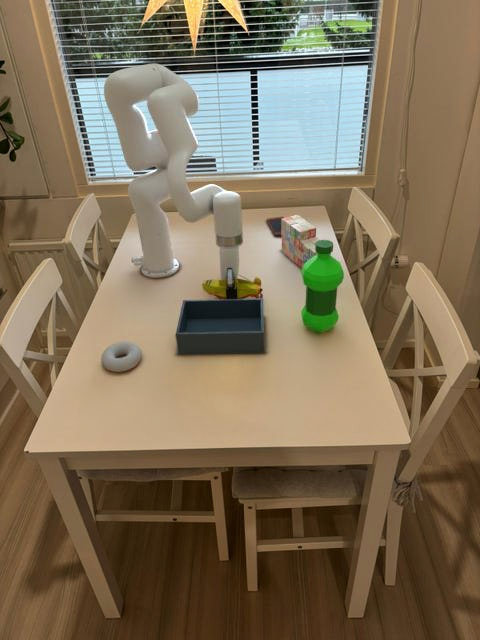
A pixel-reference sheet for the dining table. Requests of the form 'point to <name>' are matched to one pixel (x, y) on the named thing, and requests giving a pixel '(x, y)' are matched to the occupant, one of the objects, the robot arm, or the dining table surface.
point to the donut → (121, 363)
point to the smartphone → (275, 225)
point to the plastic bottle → (321, 288)
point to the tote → (221, 326)
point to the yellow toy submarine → (243, 286)
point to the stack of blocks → (298, 239)
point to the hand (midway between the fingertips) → (232, 292)
